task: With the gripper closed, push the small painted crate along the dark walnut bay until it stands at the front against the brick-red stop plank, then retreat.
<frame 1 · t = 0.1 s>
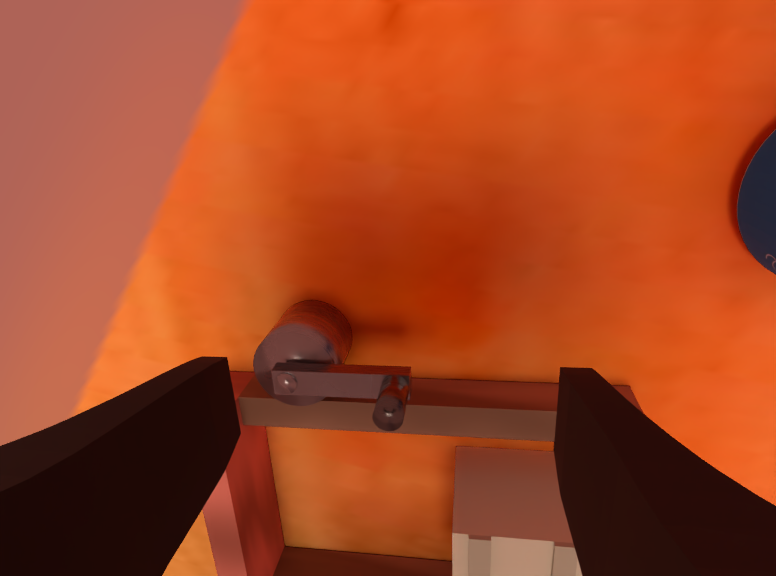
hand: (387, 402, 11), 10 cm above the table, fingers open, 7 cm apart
crate: (510, 491, 24), on the table
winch: (315, 334, 22), on the table
bay: (434, 488, 25), on the table
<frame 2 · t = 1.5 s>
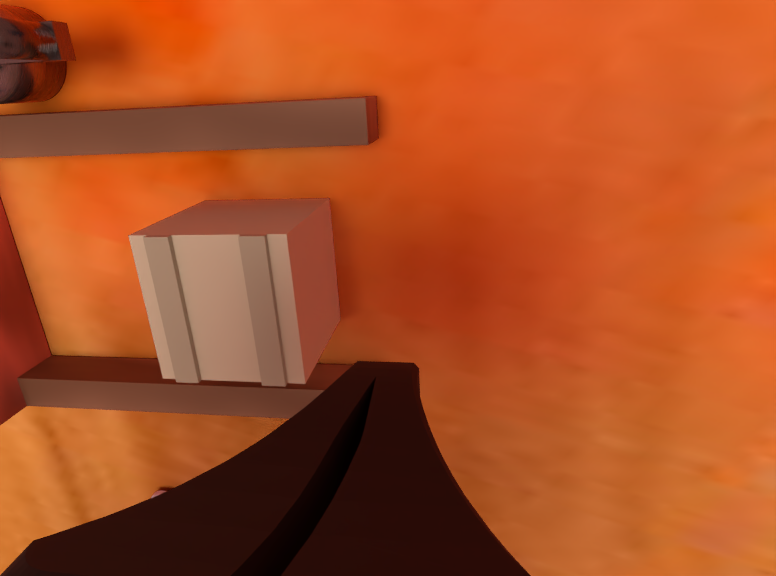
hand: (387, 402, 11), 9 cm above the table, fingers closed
crate: (275, 260, 21), on the table
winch: (25, 55, 19), on the table
bay: (192, 261, 21), on the table
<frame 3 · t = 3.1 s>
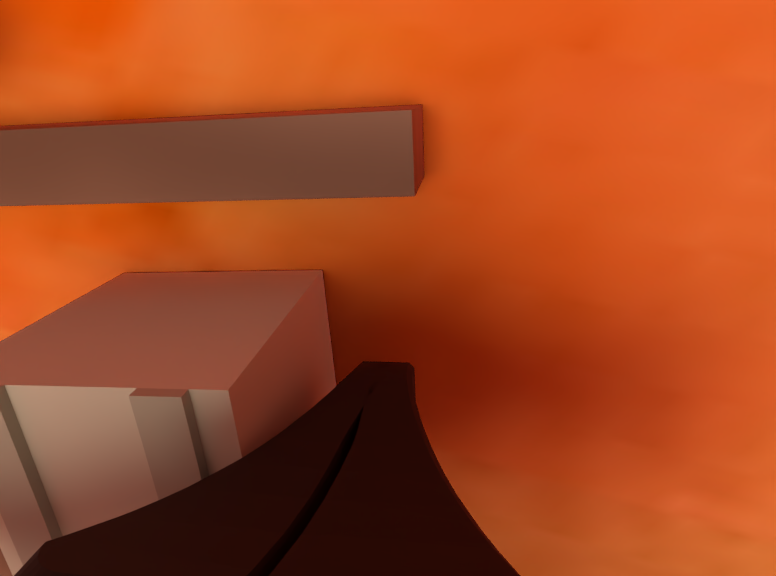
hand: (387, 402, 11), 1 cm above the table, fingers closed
crate: (238, 364, 13), on the table, touching gripper
bay: (124, 362, 14), on the table
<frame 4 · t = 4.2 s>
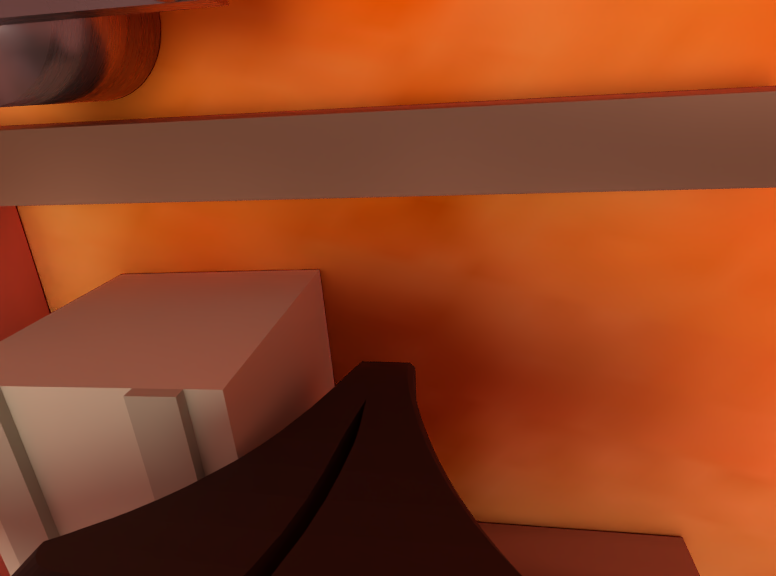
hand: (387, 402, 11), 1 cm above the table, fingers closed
crate: (236, 364, 13), on the table, touching gripper
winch: (85, 17, 11), on the table
bay: (357, 368, 13), on the table
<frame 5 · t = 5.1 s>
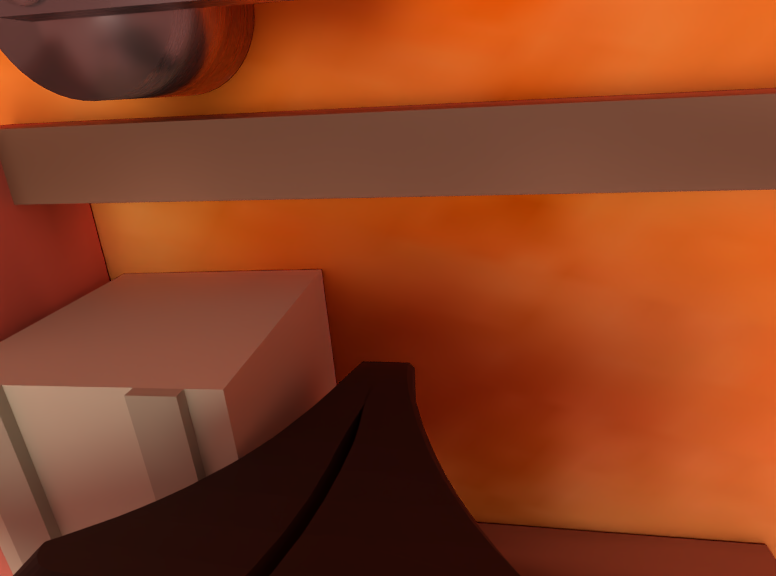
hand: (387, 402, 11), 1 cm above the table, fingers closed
crate: (238, 364, 13), on the table, touching gripper
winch: (175, 8, 10), on the table
bay: (437, 371, 12), on the table
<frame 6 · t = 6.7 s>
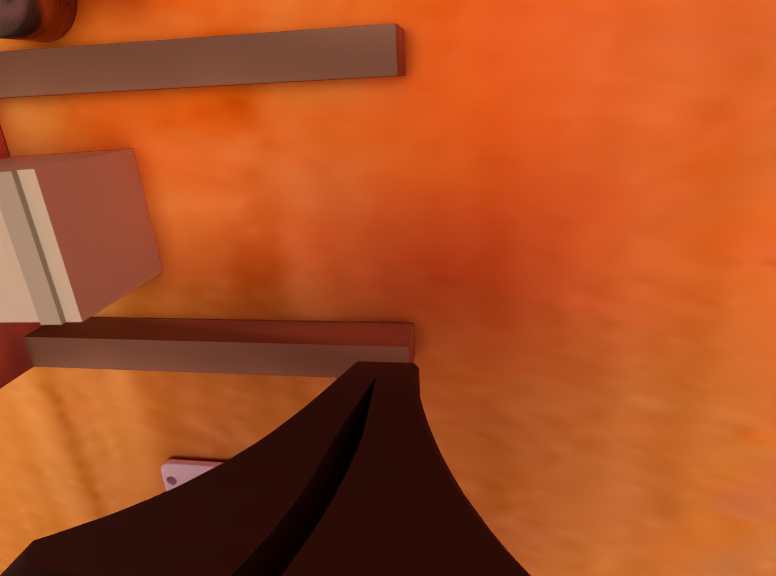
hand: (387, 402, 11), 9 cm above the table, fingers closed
crate: (94, 214, 21), on the table
bay: (207, 213, 20), on the table
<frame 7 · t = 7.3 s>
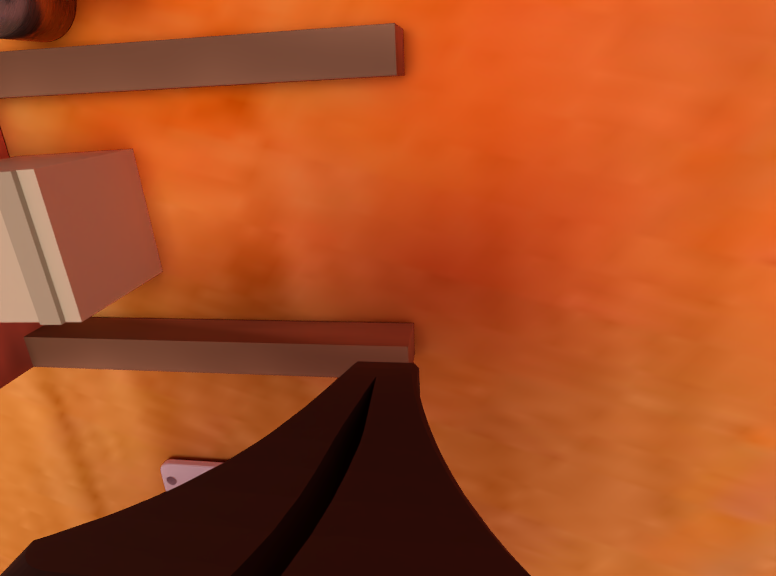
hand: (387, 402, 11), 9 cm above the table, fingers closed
crate: (93, 214, 21), on the table
bay: (206, 213, 20), on the table
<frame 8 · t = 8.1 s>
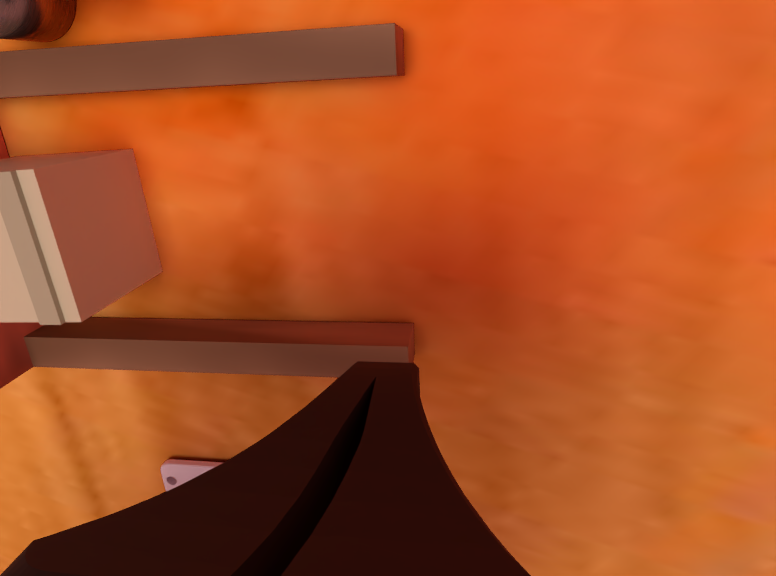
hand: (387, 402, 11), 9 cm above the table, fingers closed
crate: (93, 214, 21), on the table
bay: (206, 213, 20), on the table
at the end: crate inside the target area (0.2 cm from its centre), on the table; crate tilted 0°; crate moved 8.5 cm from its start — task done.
